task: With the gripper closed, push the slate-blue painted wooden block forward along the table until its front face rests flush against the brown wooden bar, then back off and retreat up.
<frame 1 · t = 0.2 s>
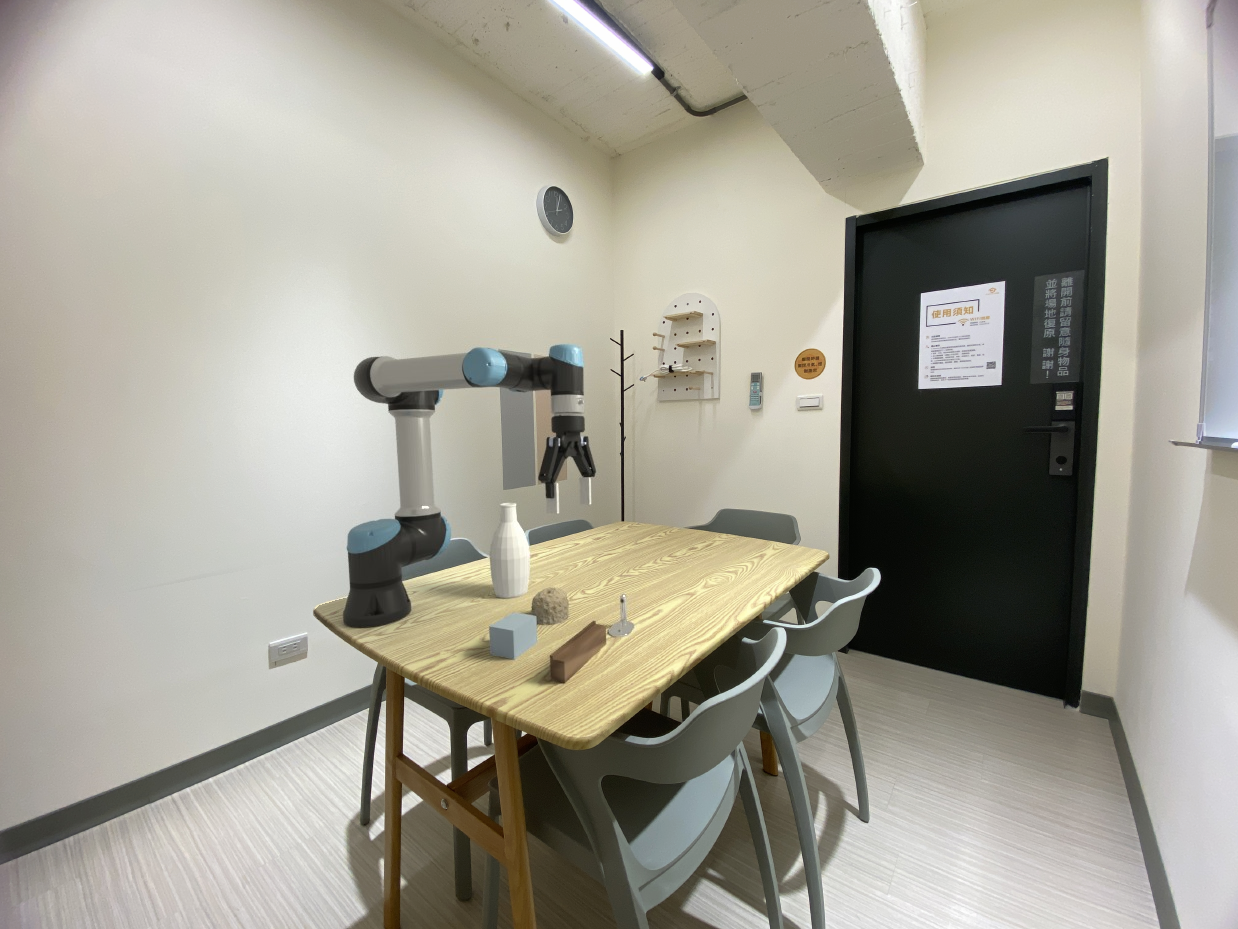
hand: (570, 508, 107), 27 cm above the table, fingers open, 13 cm apart
bottle: (511, 594, 133), on the table
metal post stand: (621, 630, 107), on the table
block: (514, 649, 98), on the table
sponge: (550, 618, 114), on the table
brown wooden bar: (580, 660, 92), on the table
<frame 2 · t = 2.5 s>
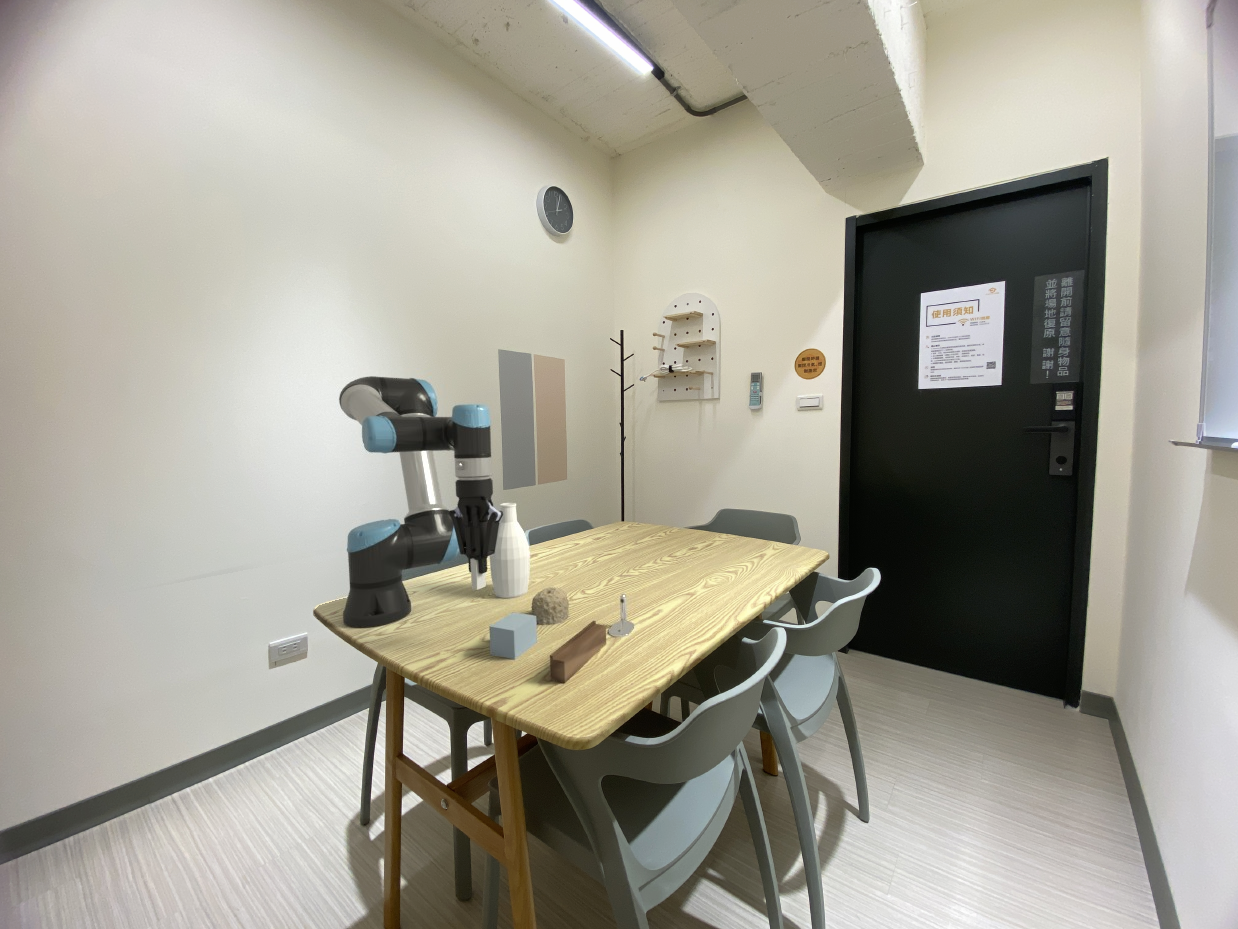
hand: (478, 587, 101), 12 cm above the table, fingers closed
nothing on the table moved.
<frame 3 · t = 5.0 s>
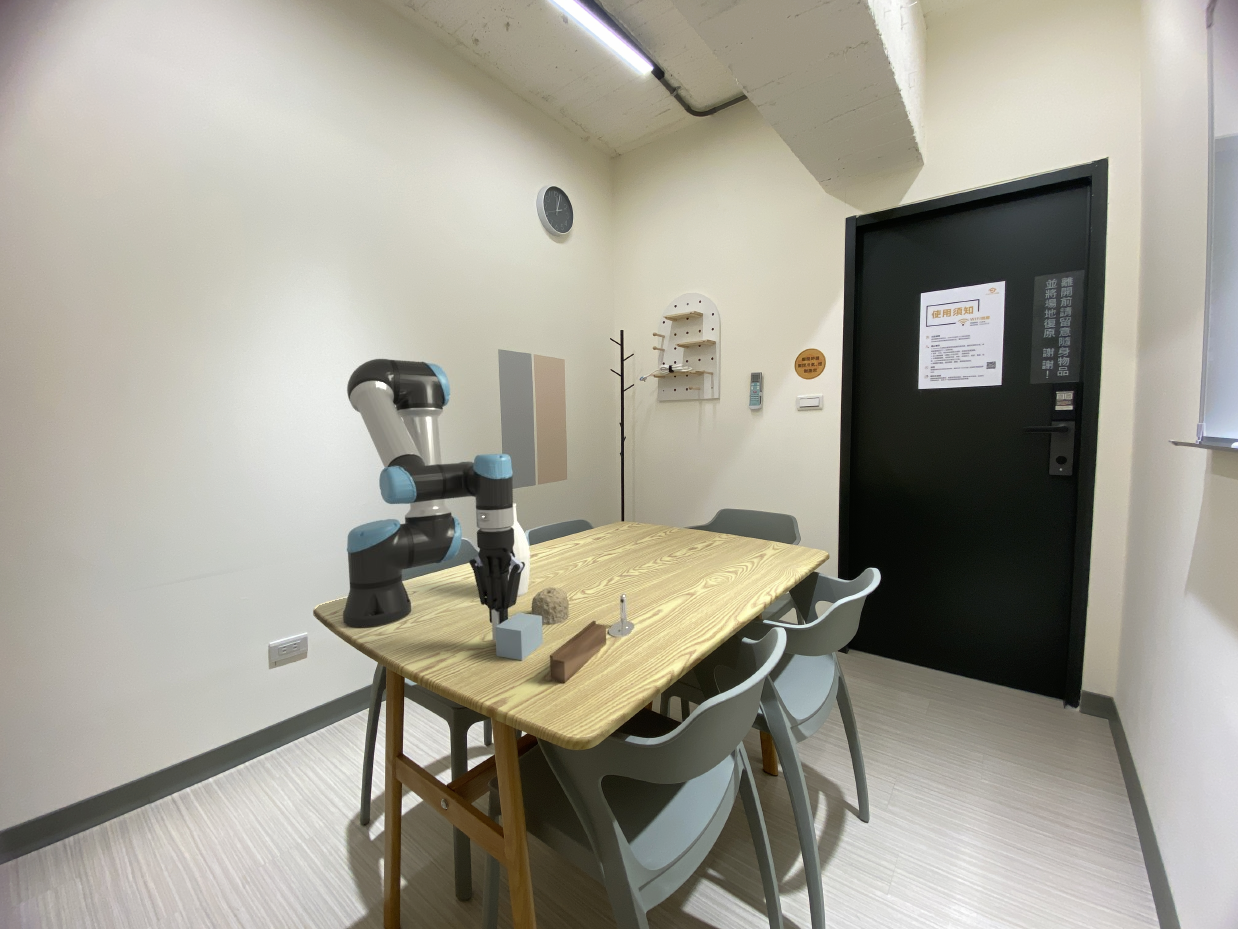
hand: (499, 638, 99), 2 cm above the table, fingers closed
block: (520, 649, 97), on the table, touching gripper
everything else where it was.
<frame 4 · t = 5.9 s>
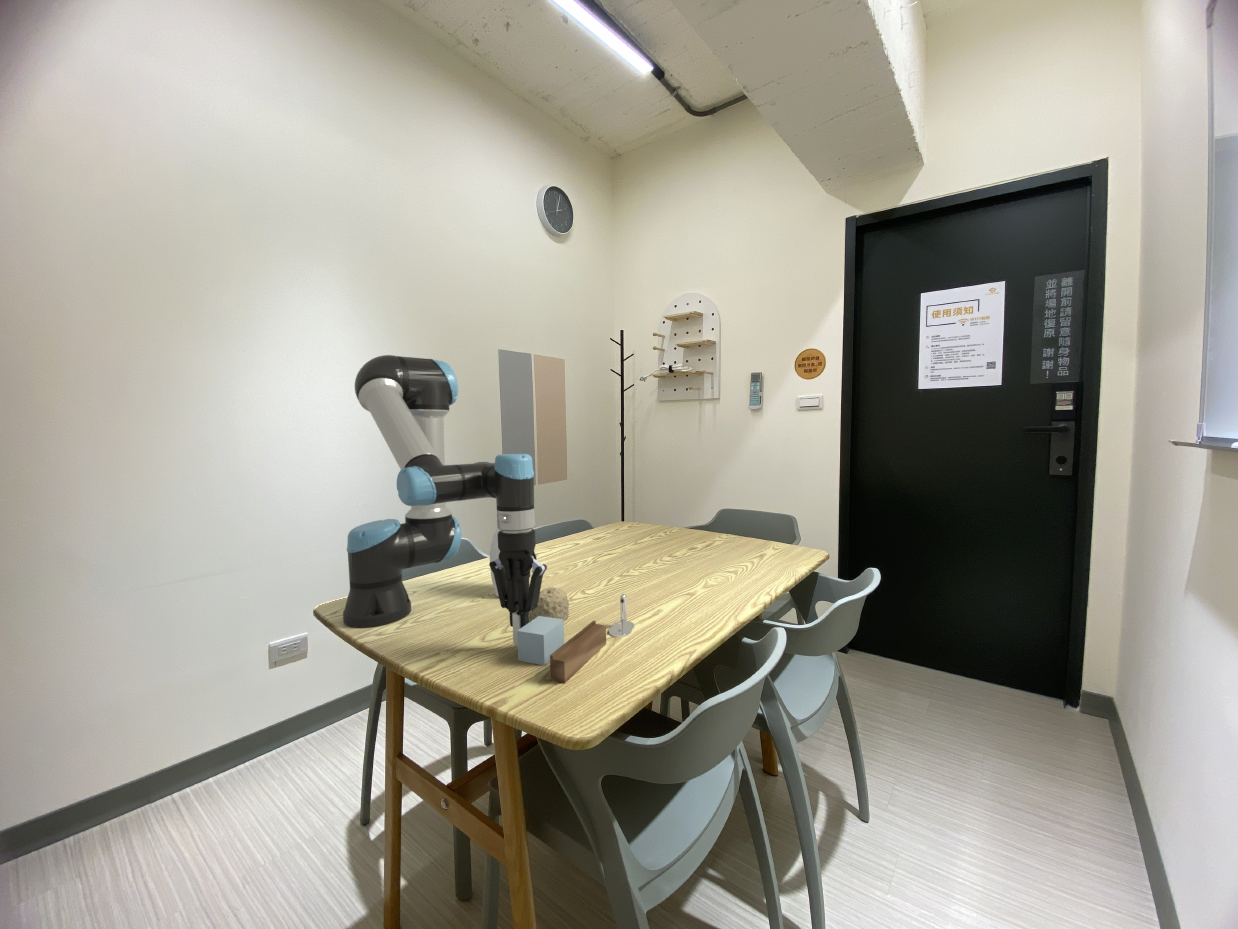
hand: (520, 642, 97), 2 cm above the table, fingers closed
block: (541, 653, 95), on the table, touching gripper
everything else where it was.
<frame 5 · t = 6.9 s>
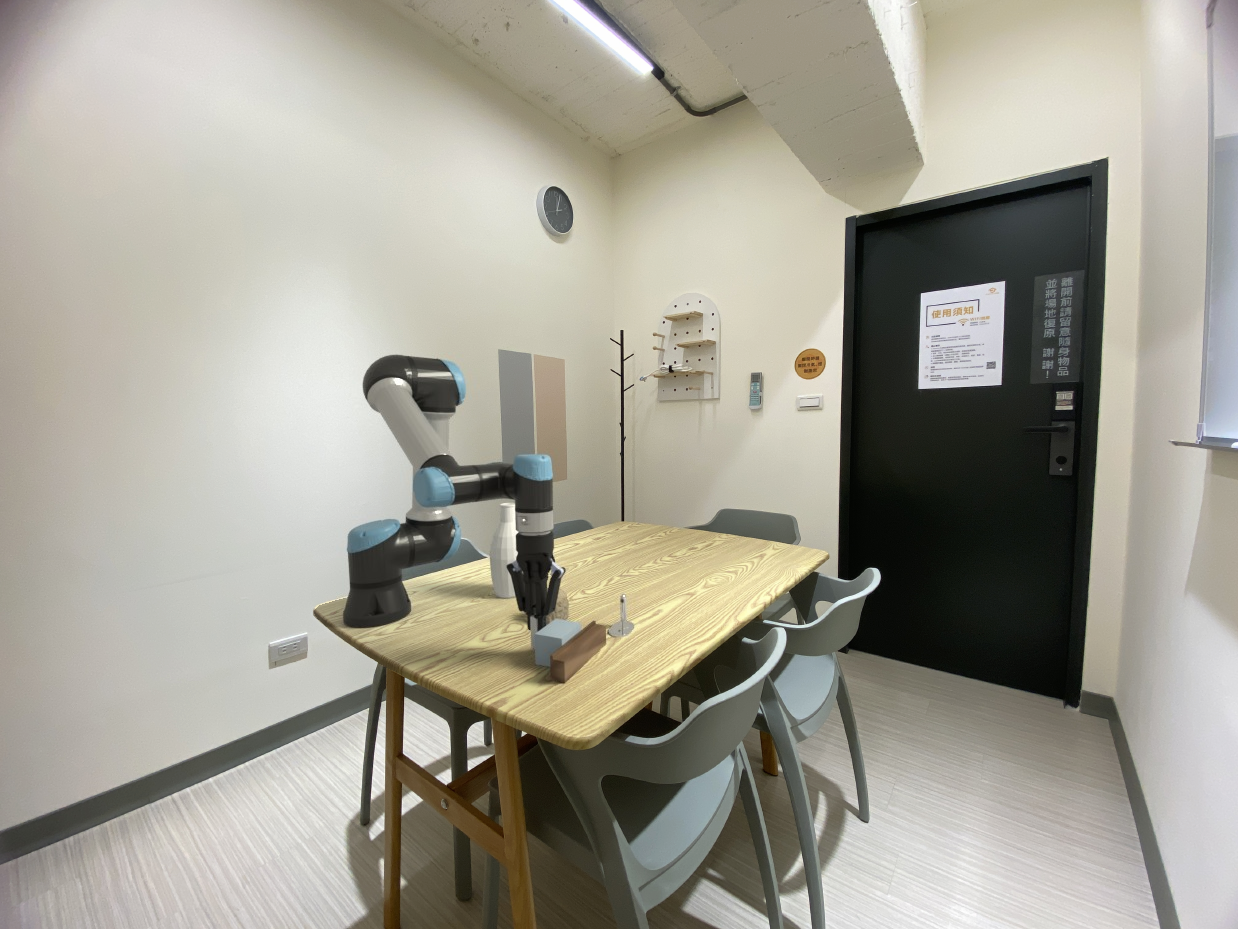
hand: (537, 646, 96), 2 cm above the table, fingers closed
block: (559, 657, 94), on the table, touching brown wooden bar, gripper
everything else where it was.
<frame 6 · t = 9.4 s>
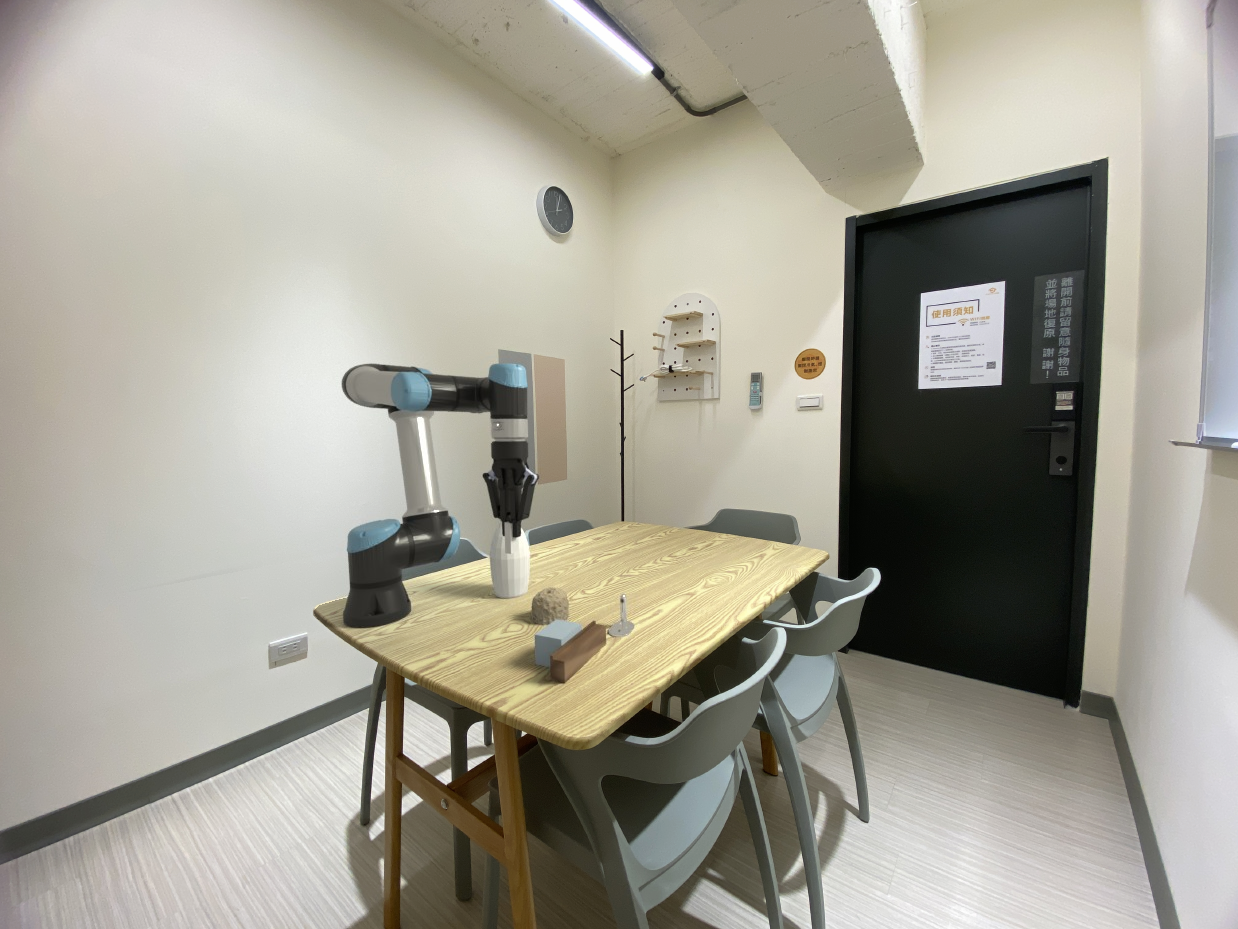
hand: (512, 552, 99), 20 cm above the table, fingers closed
block: (559, 658, 94), on the table
everything else where it was.
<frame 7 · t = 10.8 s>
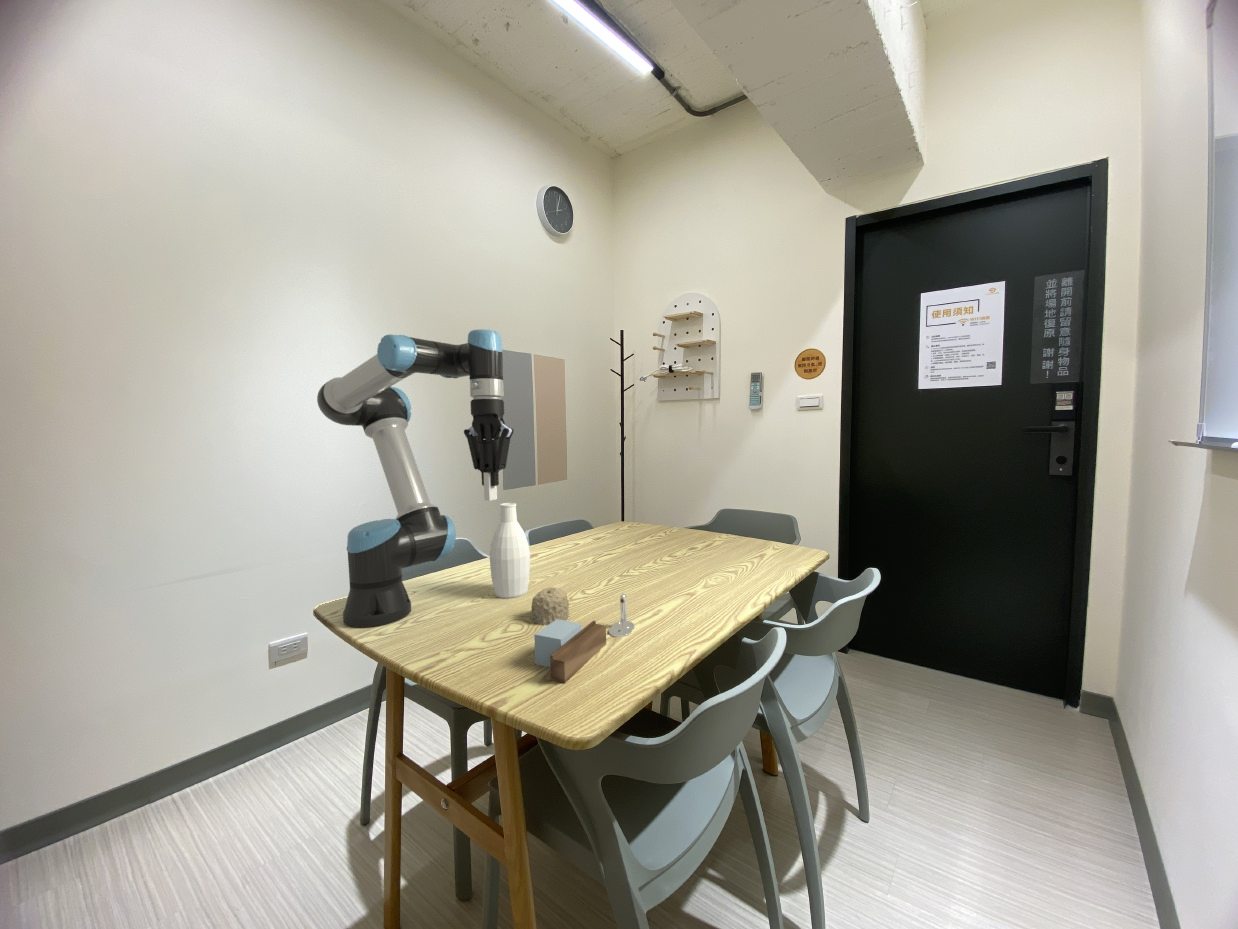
hand: (490, 499, 111), 29 cm above the table, fingers closed
nothing on the table moved.
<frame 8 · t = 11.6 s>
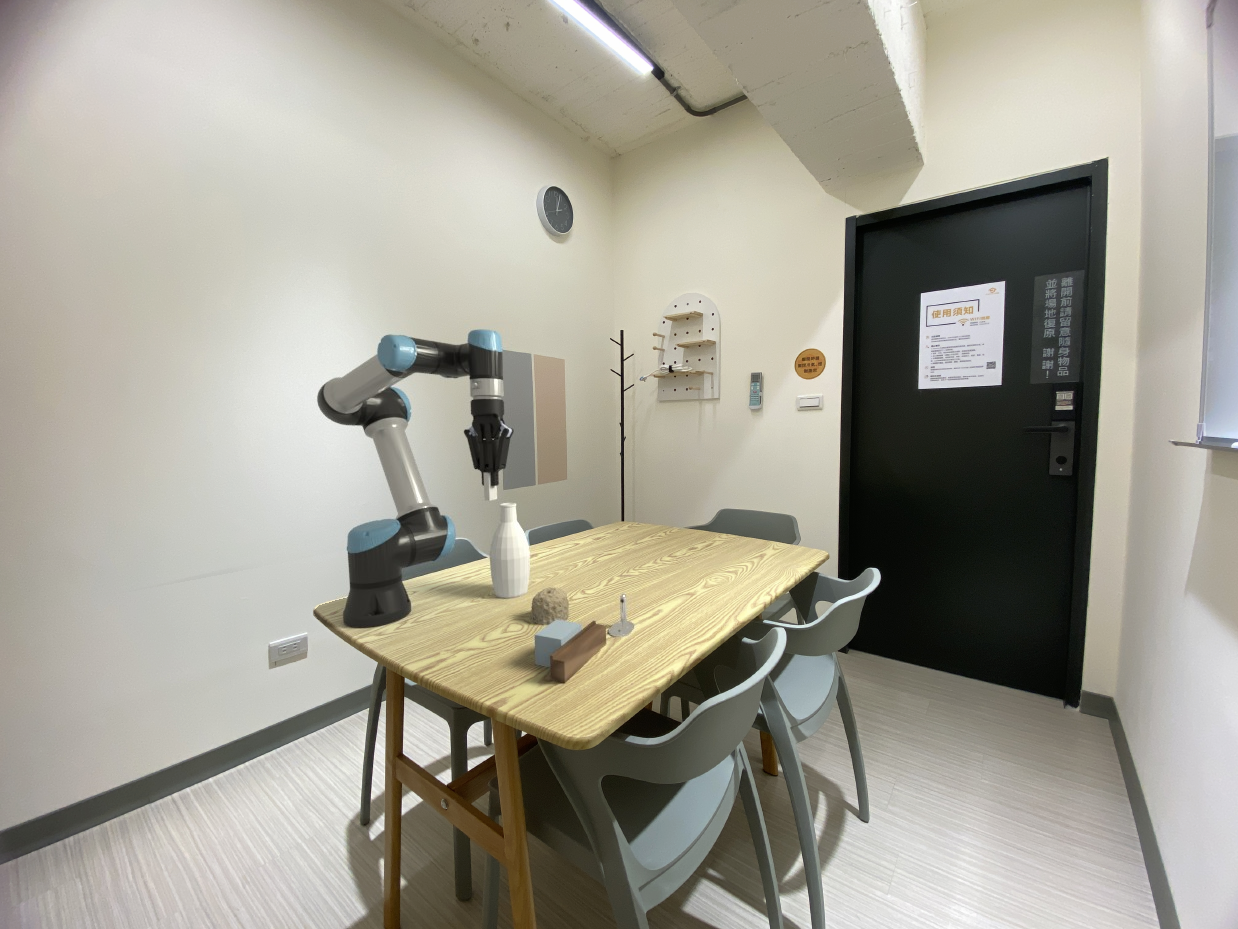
hand: (490, 499, 111), 29 cm above the table, fingers closed
nothing on the table moved.
at the end: block inside the target area on the table beside the brown wooden bar (0.7 cm from its centre), on the table; block tilted 0° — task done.
